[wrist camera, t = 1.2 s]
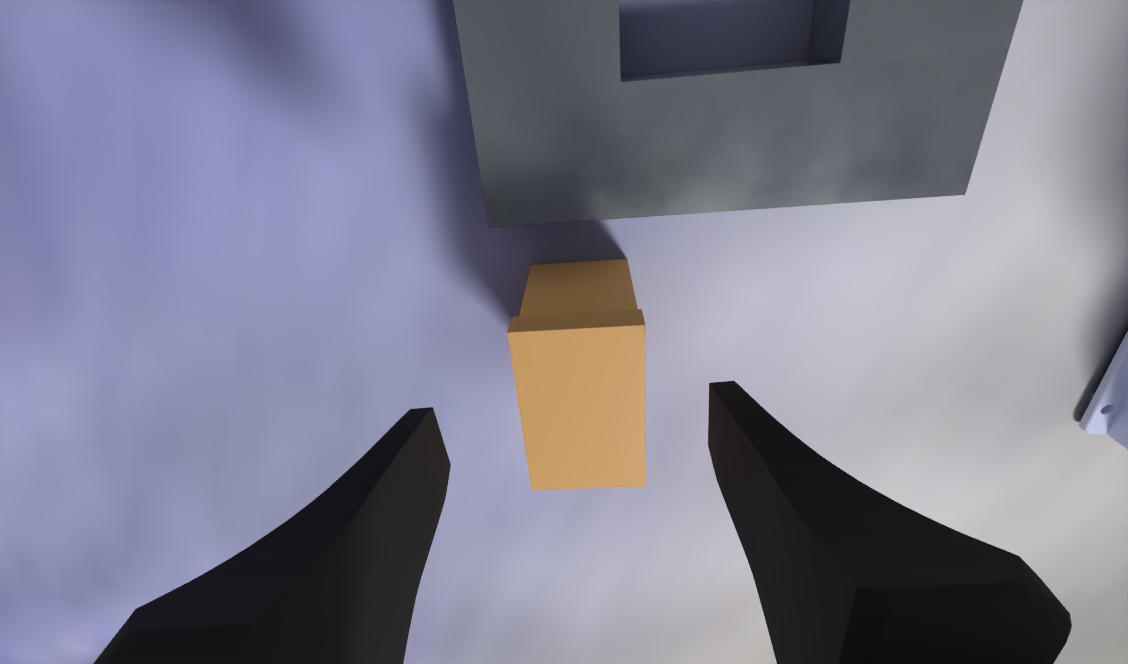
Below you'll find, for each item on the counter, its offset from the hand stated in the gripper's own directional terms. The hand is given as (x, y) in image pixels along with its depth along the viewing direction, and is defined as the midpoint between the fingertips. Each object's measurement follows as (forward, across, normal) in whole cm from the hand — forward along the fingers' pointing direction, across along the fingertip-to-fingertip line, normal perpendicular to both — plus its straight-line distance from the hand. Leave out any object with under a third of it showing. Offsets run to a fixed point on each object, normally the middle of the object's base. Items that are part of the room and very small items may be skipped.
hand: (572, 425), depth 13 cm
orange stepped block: (+10, 0, +2) cm, 10 cm away
